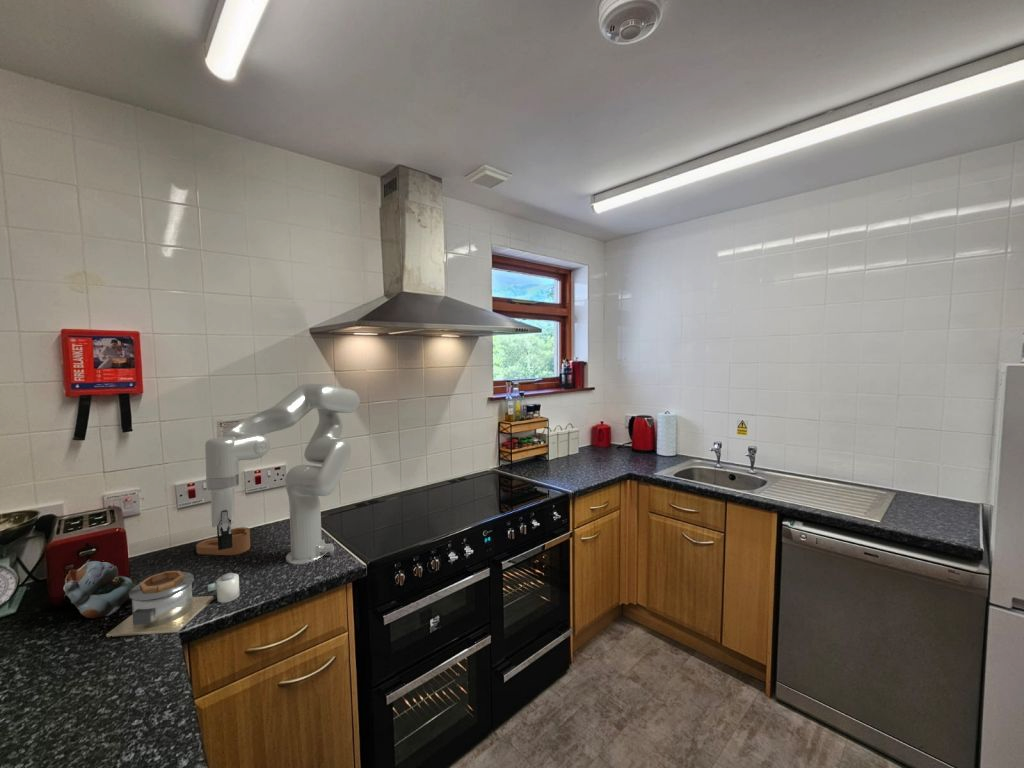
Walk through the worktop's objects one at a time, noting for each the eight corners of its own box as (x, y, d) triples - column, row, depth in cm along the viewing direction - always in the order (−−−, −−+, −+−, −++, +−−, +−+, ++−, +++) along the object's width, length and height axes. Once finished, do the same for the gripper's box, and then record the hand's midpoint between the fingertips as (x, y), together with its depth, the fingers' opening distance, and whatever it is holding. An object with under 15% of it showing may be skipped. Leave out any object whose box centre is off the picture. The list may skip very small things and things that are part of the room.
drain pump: (239, 591, 123) (238, 569, 123) (240, 599, 119) (239, 576, 119) (208, 600, 119) (207, 576, 119) (208, 608, 115) (207, 584, 115)
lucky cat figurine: (100, 624, 108) (91, 571, 107) (50, 629, 108) (41, 576, 107) (147, 591, 123) (140, 545, 122) (104, 595, 123) (96, 549, 122)
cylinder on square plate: (213, 599, 119) (212, 563, 119) (177, 634, 104) (175, 592, 104) (152, 603, 118) (150, 566, 117) (106, 638, 103) (103, 596, 102)
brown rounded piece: (255, 546, 154) (254, 527, 154) (238, 556, 146) (238, 537, 146) (209, 544, 156) (208, 526, 156) (190, 555, 148) (189, 535, 147)
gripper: (206, 477, 123) (208, 535, 123) (206, 491, 109) (208, 557, 109) (237, 473, 127) (238, 529, 128) (241, 486, 113) (242, 549, 114)
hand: (224, 542), depth 118 cm, fingers open, 9 cm apart
